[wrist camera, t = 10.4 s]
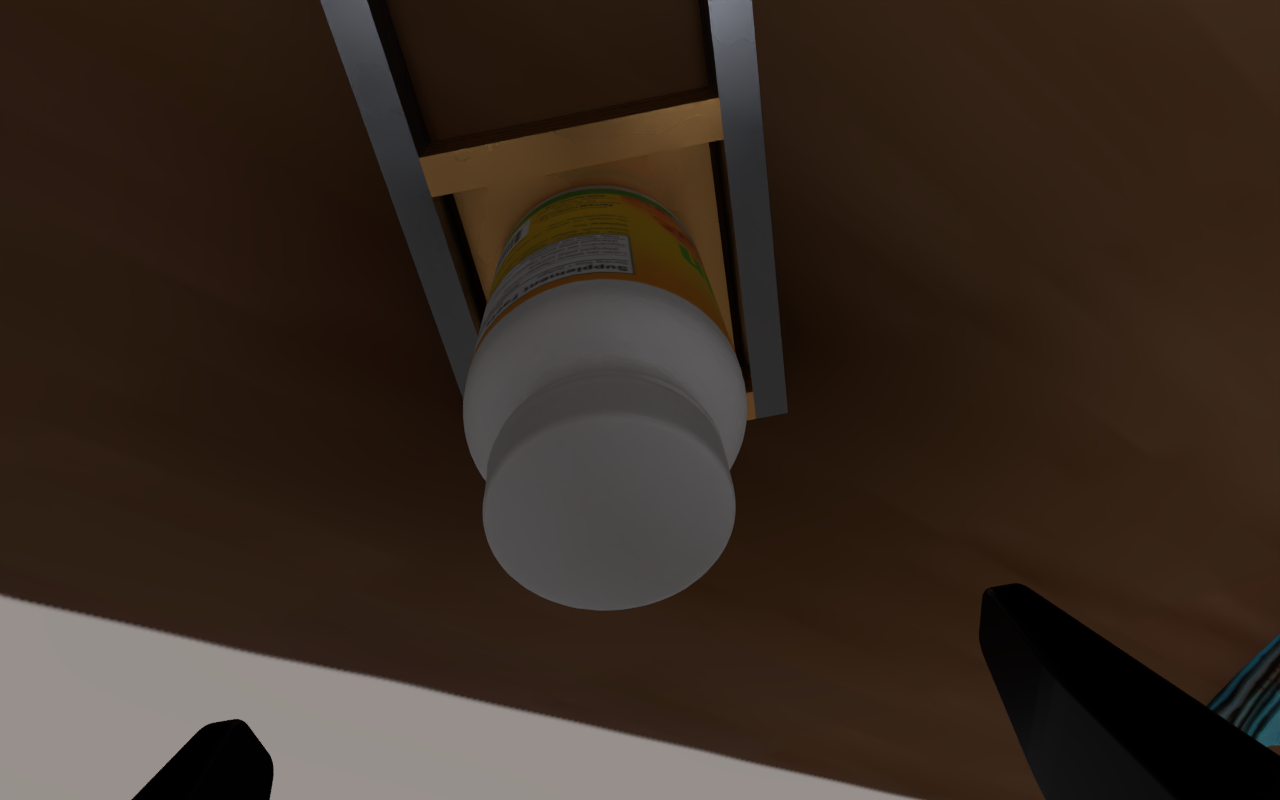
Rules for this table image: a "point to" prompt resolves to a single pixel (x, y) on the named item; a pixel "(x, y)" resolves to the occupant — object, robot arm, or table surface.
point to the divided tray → (579, 179)
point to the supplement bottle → (604, 404)
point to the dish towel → (1254, 697)
